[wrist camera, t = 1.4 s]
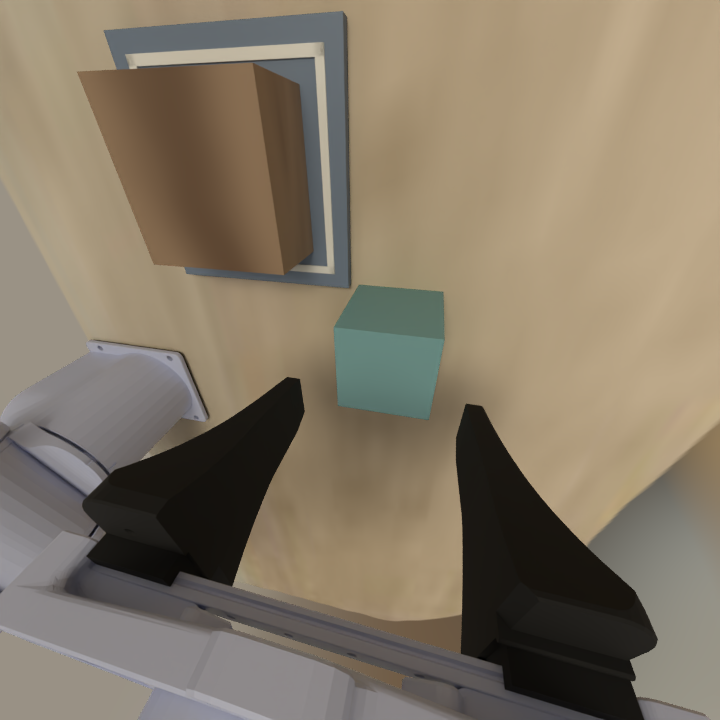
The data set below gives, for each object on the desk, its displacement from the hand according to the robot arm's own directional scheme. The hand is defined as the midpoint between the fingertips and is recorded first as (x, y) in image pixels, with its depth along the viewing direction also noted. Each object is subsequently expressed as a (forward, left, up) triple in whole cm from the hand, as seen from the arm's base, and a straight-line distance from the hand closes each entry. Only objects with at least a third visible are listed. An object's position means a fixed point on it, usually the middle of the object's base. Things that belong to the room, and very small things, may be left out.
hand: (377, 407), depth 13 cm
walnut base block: (-9, +8, -7) cm, 14 cm away
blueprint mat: (-9, +8, -8) cm, 14 cm away
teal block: (0, 0, -8) cm, 8 cm away
